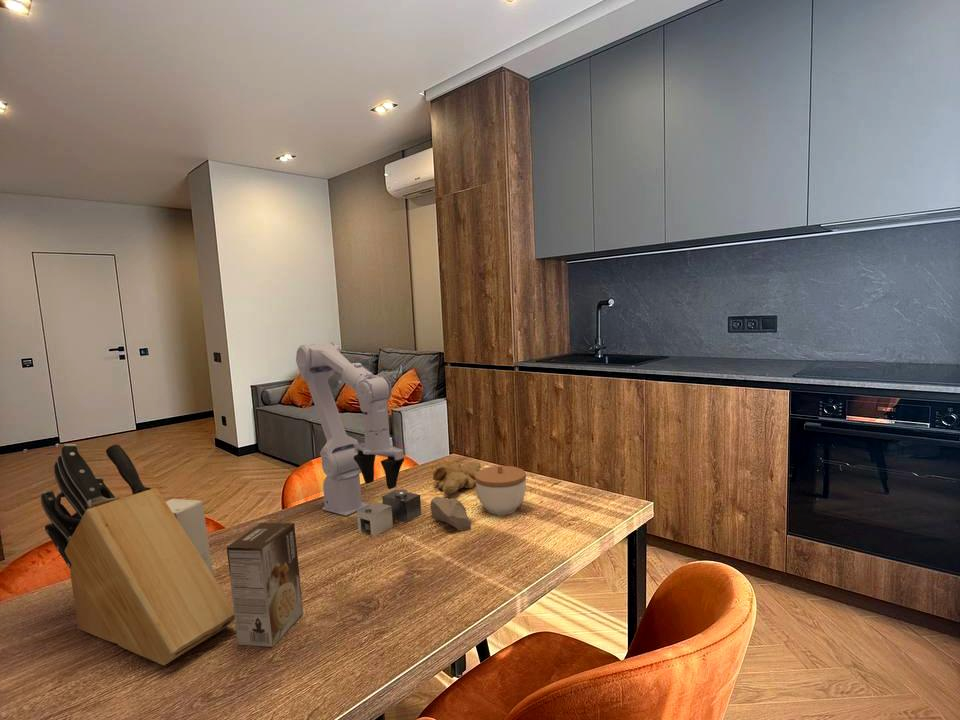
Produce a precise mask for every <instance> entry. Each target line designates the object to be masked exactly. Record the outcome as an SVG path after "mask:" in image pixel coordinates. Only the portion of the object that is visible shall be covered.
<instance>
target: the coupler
mask: <svg viewBox="0 0 960 720" xmlns="http://www.w3.org/2000/svg"><path fill="white" fill-rule="evenodd" d="M381 498H382V504H385V505H389V506H392V519H395V520H398V521H403V522H407V523H408V522H410V521H412V520H414V519H416V518H418V517H419V516H421V515H422V505H421V504H422V503H421V494H417V493H413V492H409V491H408V490H407V489H403V488H402V489H401V488H400V489H394V490H393V491H391V492H389V493H386V494H384V495H382V497H381ZM365 529H368V530H367V531H371V528H370V521H369V522H367V523H365Z"/></svg>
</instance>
